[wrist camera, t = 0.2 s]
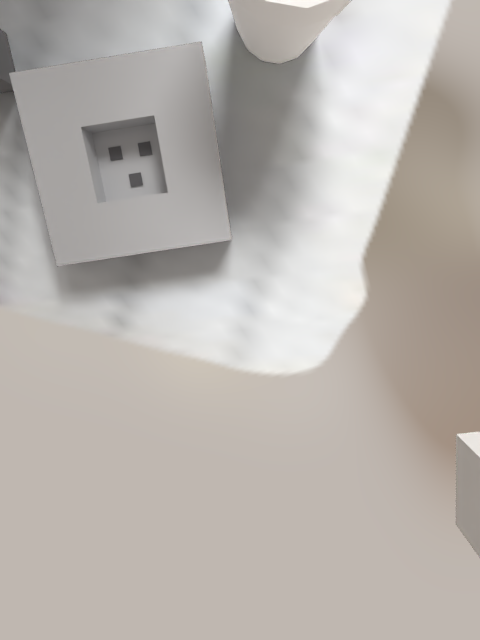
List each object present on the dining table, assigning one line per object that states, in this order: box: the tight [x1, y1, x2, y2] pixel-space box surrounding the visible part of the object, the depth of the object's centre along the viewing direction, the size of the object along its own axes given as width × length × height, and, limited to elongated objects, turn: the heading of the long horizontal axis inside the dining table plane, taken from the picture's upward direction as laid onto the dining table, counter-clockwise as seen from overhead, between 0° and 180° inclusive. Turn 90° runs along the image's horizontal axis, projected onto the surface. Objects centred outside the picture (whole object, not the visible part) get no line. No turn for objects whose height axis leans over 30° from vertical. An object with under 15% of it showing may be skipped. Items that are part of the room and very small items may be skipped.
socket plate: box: [9, 42, 232, 266], centre depth 34 cm, size 14×14×4 cm
